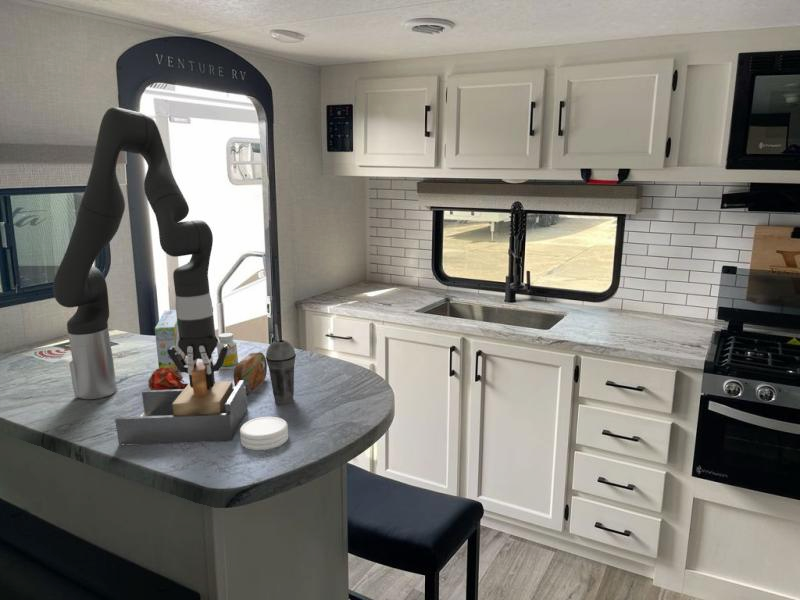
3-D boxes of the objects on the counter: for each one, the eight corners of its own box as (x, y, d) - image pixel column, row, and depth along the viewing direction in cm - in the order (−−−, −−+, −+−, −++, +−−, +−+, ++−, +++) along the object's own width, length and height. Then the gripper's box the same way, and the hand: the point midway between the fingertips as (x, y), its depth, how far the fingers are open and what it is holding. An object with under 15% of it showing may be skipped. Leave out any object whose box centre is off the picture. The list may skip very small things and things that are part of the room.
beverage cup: (304, 396, 155) (298, 319, 150) (290, 408, 148) (284, 328, 143) (278, 393, 157) (272, 318, 152) (263, 404, 150) (256, 326, 146)
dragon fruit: (162, 395, 162) (180, 414, 154) (133, 385, 156) (151, 405, 148) (179, 367, 163) (198, 385, 155) (152, 356, 157) (170, 374, 149)
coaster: (236, 452, 127) (235, 437, 126) (245, 431, 137) (244, 416, 136) (285, 450, 127) (284, 434, 127) (291, 429, 137) (290, 414, 136)
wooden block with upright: (175, 433, 133) (168, 377, 130) (192, 411, 145) (186, 358, 142) (222, 432, 133) (216, 375, 130) (235, 409, 145) (229, 357, 142)
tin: (244, 398, 154) (241, 367, 152) (233, 398, 155) (230, 366, 153) (268, 377, 169) (266, 348, 167) (258, 377, 169) (255, 347, 167)
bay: (118, 445, 131) (113, 410, 129) (146, 414, 147) (142, 382, 145) (232, 440, 132) (228, 406, 130) (247, 410, 147) (244, 378, 145)
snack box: (180, 379, 169) (174, 326, 166) (159, 381, 168) (152, 328, 165) (187, 355, 189) (182, 308, 186) (168, 357, 188) (162, 309, 185)
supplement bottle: (239, 367, 177) (236, 335, 175) (220, 371, 175) (217, 338, 172) (236, 362, 182) (233, 331, 179) (218, 365, 180) (214, 333, 177)
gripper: (156, 319, 129) (166, 396, 133) (222, 317, 130) (230, 393, 134) (168, 310, 137) (177, 383, 141) (231, 308, 137) (238, 381, 141)
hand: (203, 388), depth 137 cm, fingers closed on wooden block with upright, 2 cm apart
